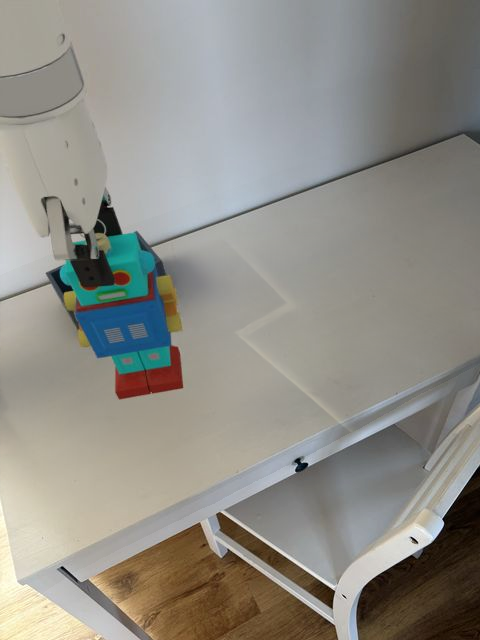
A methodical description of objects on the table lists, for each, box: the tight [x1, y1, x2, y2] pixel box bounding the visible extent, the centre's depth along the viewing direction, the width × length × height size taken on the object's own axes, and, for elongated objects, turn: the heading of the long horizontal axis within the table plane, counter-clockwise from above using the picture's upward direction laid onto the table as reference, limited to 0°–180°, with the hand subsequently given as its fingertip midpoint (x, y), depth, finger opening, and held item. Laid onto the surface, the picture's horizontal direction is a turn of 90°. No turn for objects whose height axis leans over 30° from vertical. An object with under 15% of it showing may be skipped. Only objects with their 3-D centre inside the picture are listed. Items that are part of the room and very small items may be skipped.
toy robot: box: [60, 219, 184, 400], centre depth 59 cm, size 12×6×25 cm, turn 99°
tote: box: [45, 230, 167, 331], centre depth 94 cm, size 17×10×8 cm, turn 124°
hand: (103, 260), depth 53 cm, fingers closed on toy robot, 5 cm apart
